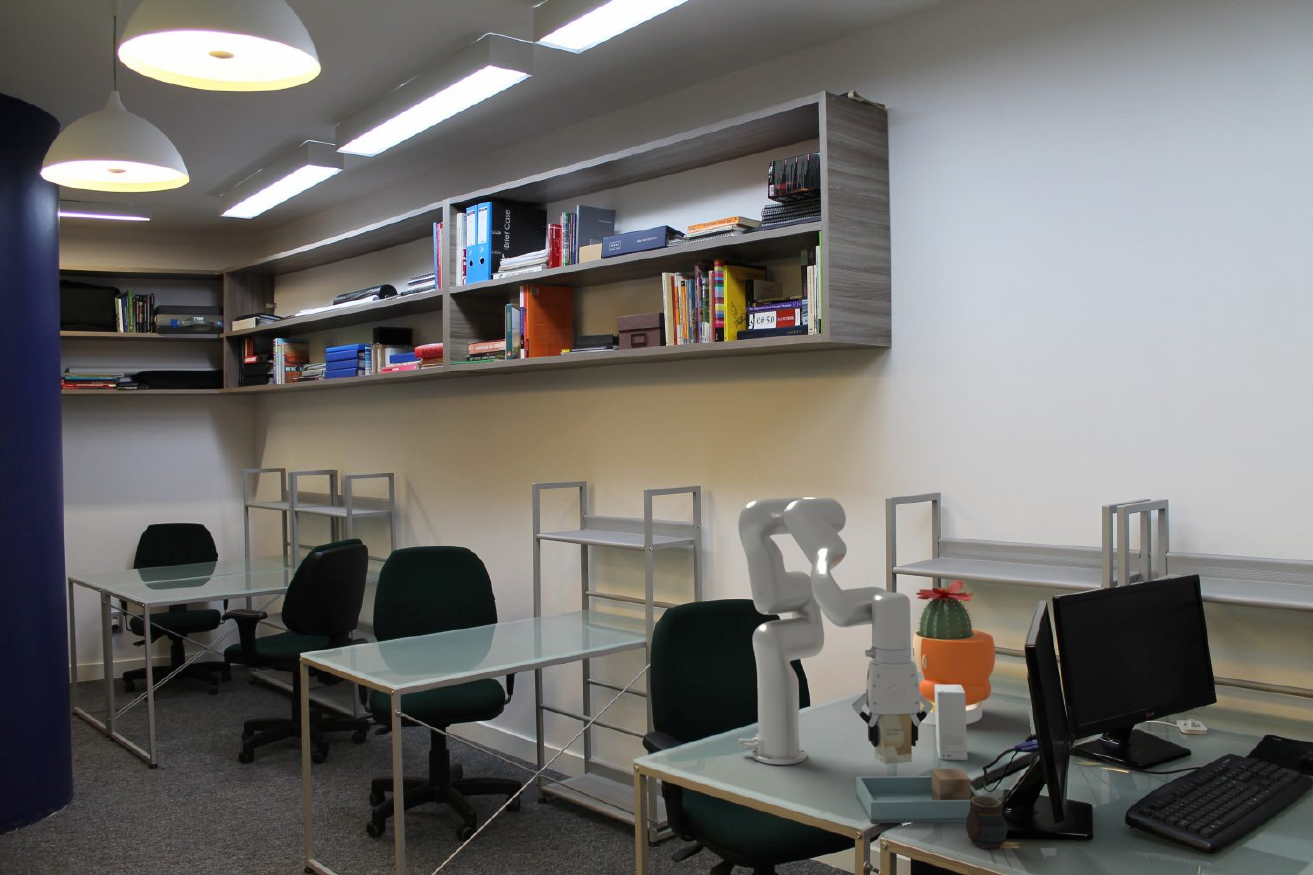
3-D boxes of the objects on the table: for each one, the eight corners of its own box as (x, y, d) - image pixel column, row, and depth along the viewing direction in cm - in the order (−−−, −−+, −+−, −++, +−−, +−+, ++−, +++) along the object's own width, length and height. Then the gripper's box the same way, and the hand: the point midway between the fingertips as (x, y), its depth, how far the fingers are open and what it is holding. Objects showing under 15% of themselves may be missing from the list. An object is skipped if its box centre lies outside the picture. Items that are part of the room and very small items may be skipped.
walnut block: (940, 809, 191) (940, 779, 191) (931, 798, 197) (931, 768, 197) (970, 809, 191) (970, 779, 191) (961, 798, 197) (961, 768, 197)
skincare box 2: (967, 761, 221) (966, 693, 221) (937, 759, 222) (936, 691, 222) (963, 749, 229) (962, 683, 229) (934, 748, 230) (933, 682, 230)
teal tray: (871, 823, 187) (870, 802, 187) (856, 795, 201) (856, 776, 201) (985, 821, 187) (985, 801, 187) (962, 794, 201) (962, 775, 201)
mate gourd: (1000, 835, 180) (1000, 782, 180) (1013, 853, 173) (1013, 797, 173) (961, 835, 181) (961, 782, 181) (973, 853, 173) (972, 797, 173)
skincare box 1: (884, 765, 191) (883, 703, 191) (873, 758, 195) (872, 697, 195) (913, 762, 192) (912, 700, 192) (902, 755, 197) (901, 694, 197)
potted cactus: (895, 716, 256) (893, 584, 256) (941, 700, 271) (939, 575, 271) (969, 734, 240) (968, 593, 240) (1014, 716, 255) (1012, 583, 255)
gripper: (851, 660, 190) (853, 751, 190) (940, 659, 190) (942, 749, 190) (844, 651, 197) (846, 739, 197) (930, 650, 197) (931, 738, 197)
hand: (893, 743), depth 194 cm, fingers closed on skincare box 1, 7 cm apart
